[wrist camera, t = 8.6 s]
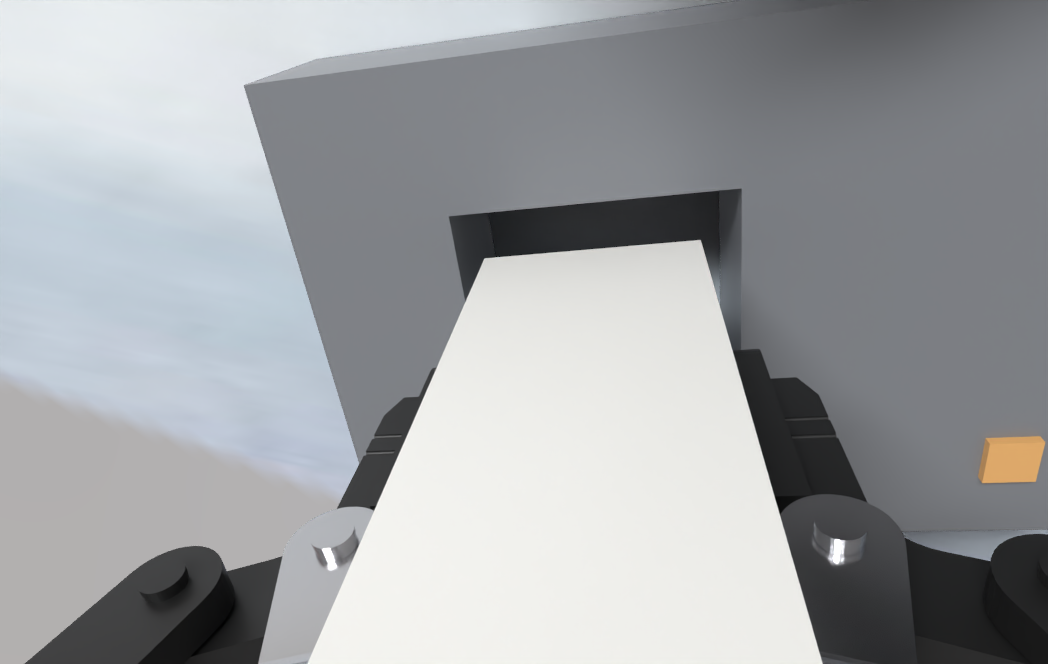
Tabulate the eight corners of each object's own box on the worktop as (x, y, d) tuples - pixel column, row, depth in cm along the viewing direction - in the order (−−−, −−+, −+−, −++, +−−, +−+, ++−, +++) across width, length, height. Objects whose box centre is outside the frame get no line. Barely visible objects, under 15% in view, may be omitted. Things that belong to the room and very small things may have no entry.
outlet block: (1122, -54, 13) (1287, -55, 10) (1015, 431, 18) (1101, 535, 15) (316, 59, 16) (238, 87, 13) (417, 452, 21) (380, 544, 18)
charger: (700, 239, 13) (841, 728, 5) (704, 422, 15) (812, 999, 7) (484, 258, 13) (285, 714, 5) (514, 430, 15) (399, 962, 7)
